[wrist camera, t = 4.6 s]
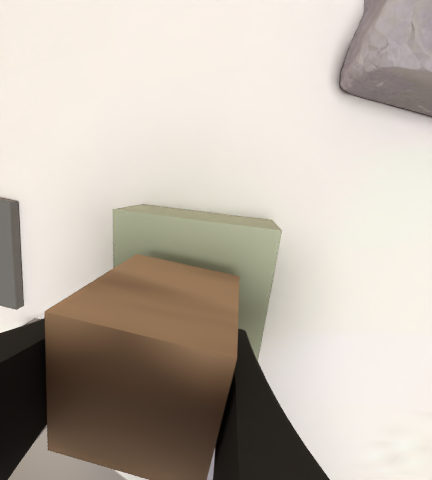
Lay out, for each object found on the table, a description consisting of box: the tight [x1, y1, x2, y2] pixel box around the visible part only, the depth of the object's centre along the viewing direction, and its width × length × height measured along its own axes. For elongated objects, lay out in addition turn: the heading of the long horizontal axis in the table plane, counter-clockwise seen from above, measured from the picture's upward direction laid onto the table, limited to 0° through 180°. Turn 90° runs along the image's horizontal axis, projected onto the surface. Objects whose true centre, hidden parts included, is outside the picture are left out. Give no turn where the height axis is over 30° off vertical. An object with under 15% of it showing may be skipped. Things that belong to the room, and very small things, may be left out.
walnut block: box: [45, 254, 240, 480], centre depth 8 cm, size 5×5×5 cm
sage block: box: [113, 204, 282, 361], centre depth 14 cm, size 9×9×4 cm
